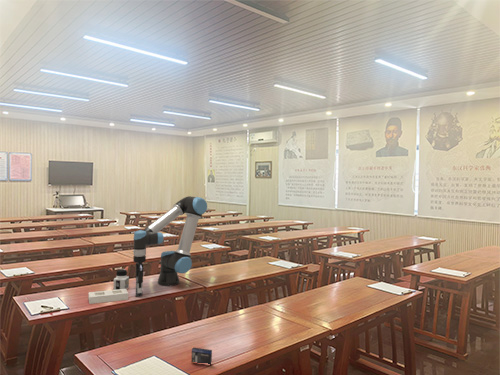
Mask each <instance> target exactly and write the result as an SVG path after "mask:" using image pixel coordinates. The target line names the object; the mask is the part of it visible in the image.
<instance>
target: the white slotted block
mask: <svg viewBox="0 0 500 375" xmlns="http://www.w3.org/2000/svg"><path fill="white" fill-rule="evenodd" d="M87 299H88V304H89V305H93V304H100V303H102V304H103V303H110V302H121V301H127V300H129V292H128V290H127V289H118V290H113V289H110V290H99V291H98V290H97V291H89V292H88V298H87Z"/></svg>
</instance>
